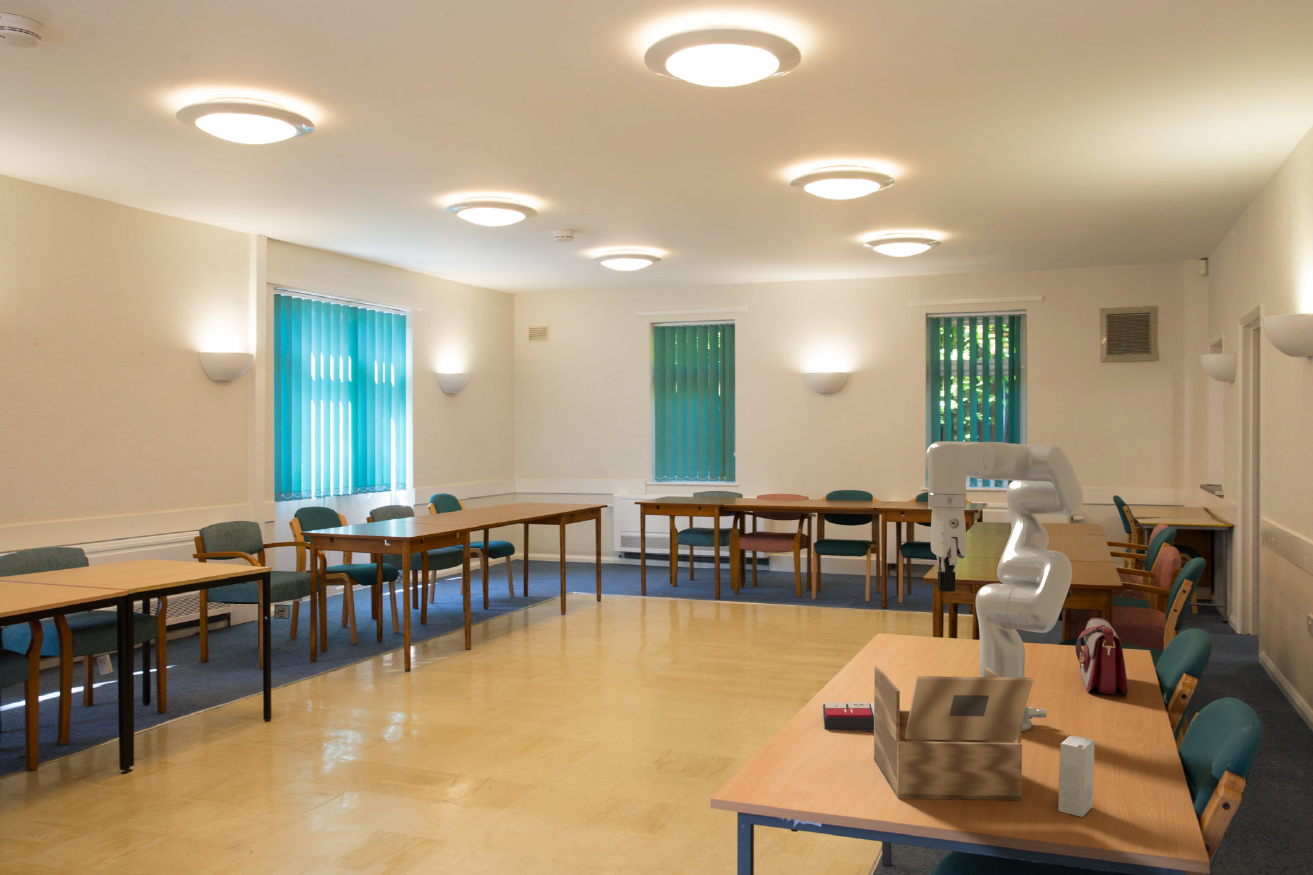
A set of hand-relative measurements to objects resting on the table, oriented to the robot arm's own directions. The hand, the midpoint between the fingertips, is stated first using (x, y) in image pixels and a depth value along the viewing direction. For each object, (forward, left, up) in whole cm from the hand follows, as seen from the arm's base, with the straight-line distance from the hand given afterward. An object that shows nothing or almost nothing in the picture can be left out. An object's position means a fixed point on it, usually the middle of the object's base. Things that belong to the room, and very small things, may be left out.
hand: (946, 590), depth 191 cm
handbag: (-56, -53, -33) cm, 84 cm away
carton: (+5, +16, -33) cm, 37 cm away
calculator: (+15, -17, -34) cm, 41 cm away
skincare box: (-14, +30, -33) cm, 47 cm away
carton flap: (+5, +30, -16) cm, 34 cm away
